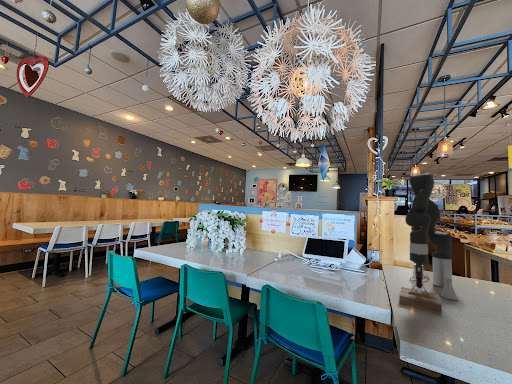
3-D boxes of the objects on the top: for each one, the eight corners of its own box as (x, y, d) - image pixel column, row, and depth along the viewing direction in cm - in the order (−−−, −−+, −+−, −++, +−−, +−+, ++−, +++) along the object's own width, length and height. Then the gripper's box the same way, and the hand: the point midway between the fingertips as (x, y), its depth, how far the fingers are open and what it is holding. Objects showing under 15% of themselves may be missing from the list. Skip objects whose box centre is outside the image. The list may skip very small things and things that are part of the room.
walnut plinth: (401, 294, 121) (401, 286, 121) (438, 302, 111) (438, 294, 112) (399, 303, 108) (399, 295, 108) (441, 314, 99) (441, 305, 99)
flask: (461, 301, 114) (460, 281, 114) (445, 299, 115) (445, 280, 116) (452, 295, 121) (451, 277, 122) (437, 294, 122) (436, 276, 123)
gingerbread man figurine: (408, 293, 111) (408, 269, 112) (408, 291, 114) (408, 268, 115) (430, 298, 106) (430, 273, 107) (430, 296, 109) (429, 271, 110)
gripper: (409, 249, 119) (410, 280, 118) (409, 253, 108) (409, 287, 107) (427, 251, 115) (428, 283, 114) (428, 255, 103) (429, 291, 102)
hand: (419, 285), depth 110 cm, fingers open, 6 cm apart
